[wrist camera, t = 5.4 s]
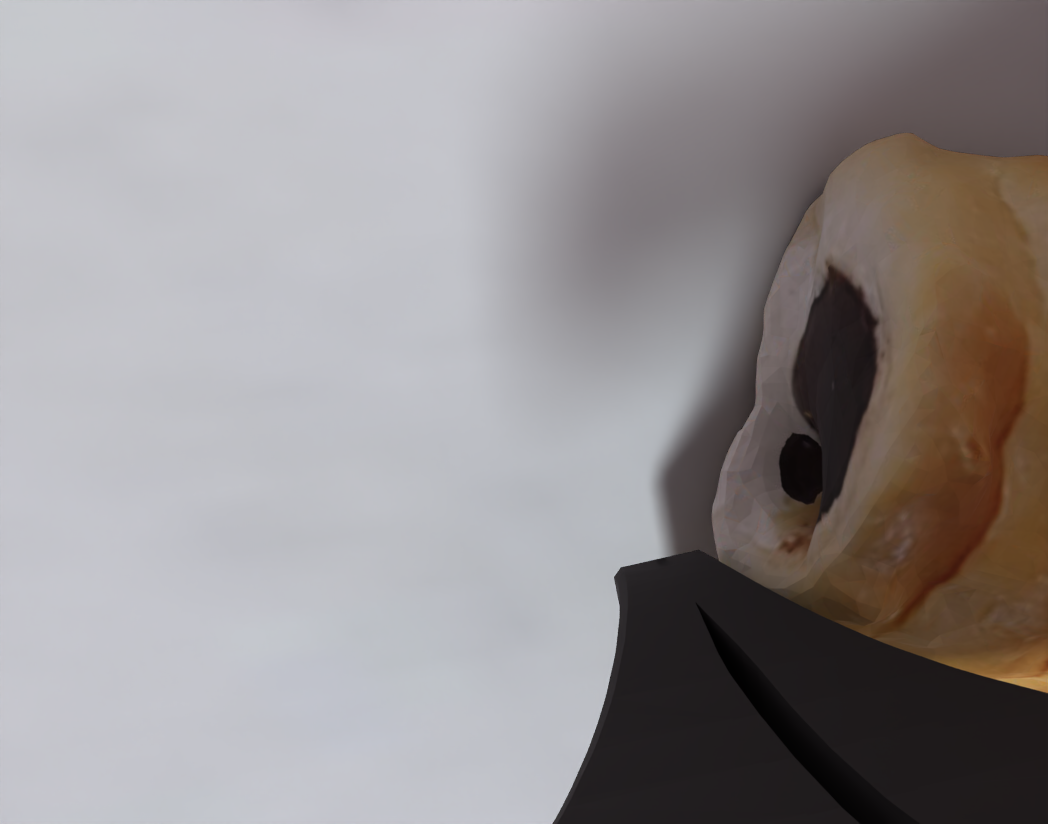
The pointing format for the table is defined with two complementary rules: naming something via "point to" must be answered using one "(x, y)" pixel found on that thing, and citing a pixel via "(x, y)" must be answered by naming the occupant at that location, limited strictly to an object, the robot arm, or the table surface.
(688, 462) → the table surface
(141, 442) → the table surface
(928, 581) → the pastry
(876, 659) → the robot arm
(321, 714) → the table surface
